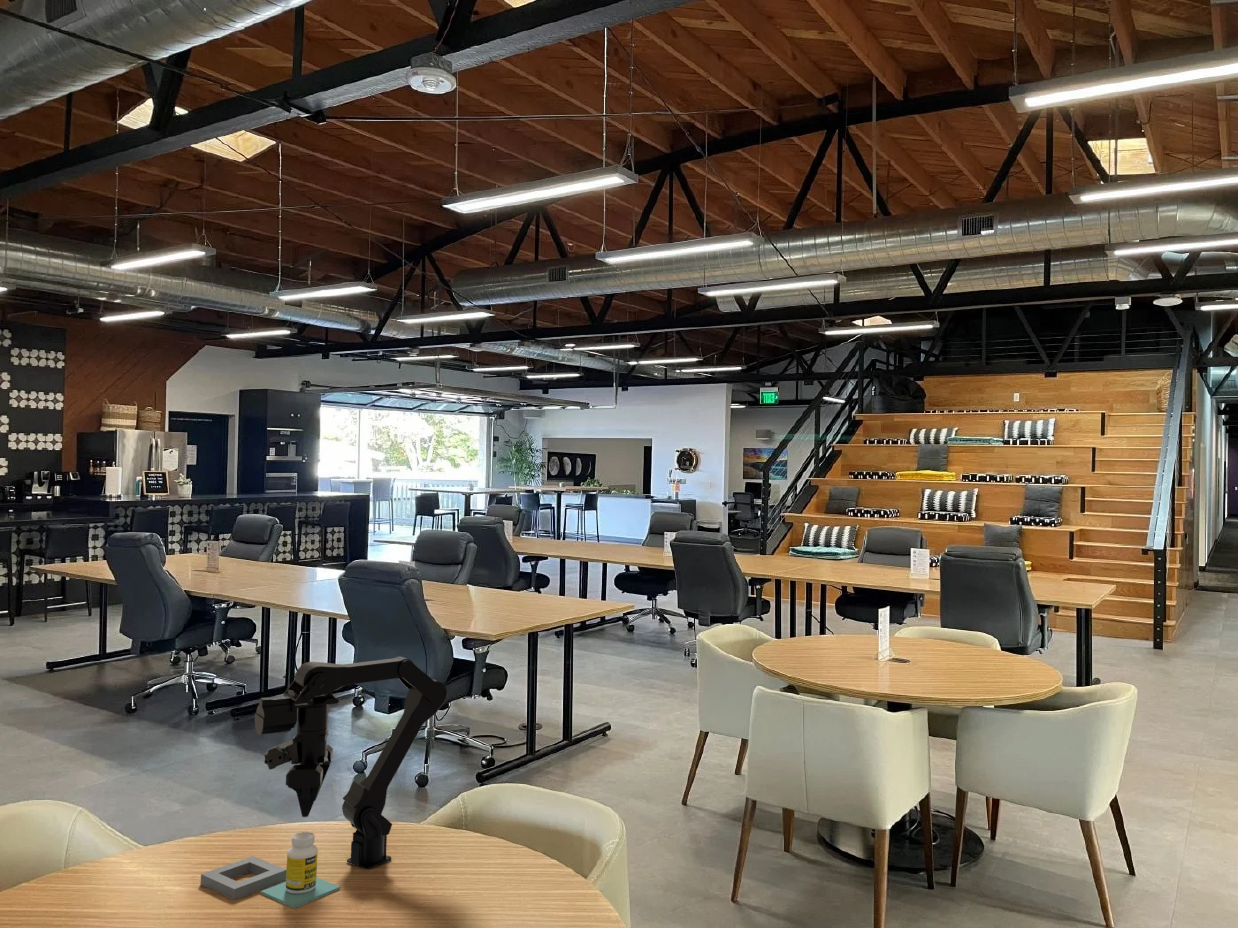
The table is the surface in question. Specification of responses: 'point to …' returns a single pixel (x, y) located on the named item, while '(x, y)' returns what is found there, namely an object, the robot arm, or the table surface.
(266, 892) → the mat
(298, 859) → the supplement bottle
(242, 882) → the socket block
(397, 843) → the table surface
